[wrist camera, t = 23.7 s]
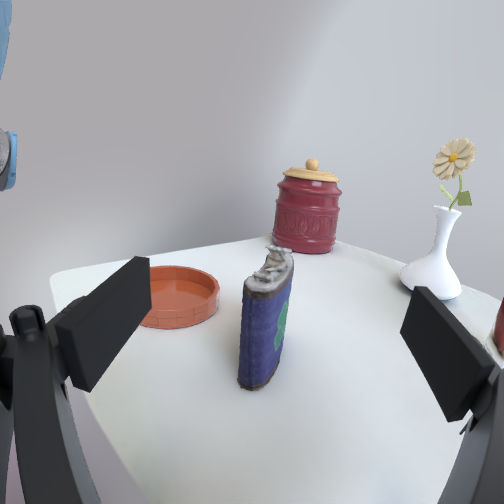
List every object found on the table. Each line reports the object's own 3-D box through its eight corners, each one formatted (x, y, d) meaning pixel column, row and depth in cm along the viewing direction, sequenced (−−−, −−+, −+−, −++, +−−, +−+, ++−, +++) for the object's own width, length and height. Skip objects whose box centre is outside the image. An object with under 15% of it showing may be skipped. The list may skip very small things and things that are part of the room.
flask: (261, 329, 31) (272, 229, 27) (288, 335, 30) (304, 235, 27) (231, 386, 22) (239, 262, 19) (266, 396, 22) (286, 270, 18)
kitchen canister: (307, 234, 70) (316, 159, 65) (346, 251, 60) (359, 165, 54) (260, 237, 64) (267, 153, 58) (296, 258, 53) (308, 157, 48)
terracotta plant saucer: (101, 317, 29) (98, 299, 29) (143, 275, 41) (142, 261, 40) (206, 336, 29) (206, 318, 28) (225, 286, 40) (226, 271, 39)
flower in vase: (392, 273, 50) (415, 133, 42) (446, 283, 47) (472, 148, 39) (404, 306, 38) (437, 124, 30) (469, 316, 35) (506, 146, 27)
